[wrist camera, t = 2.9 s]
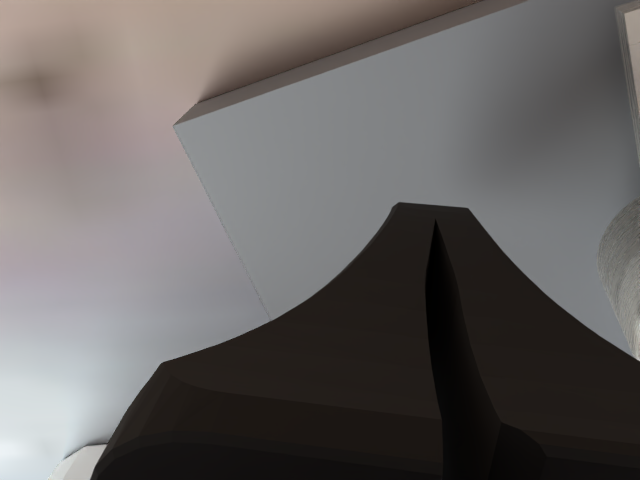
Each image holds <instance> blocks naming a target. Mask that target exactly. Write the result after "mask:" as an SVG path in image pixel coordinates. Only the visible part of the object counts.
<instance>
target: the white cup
mask: <svg viewBox="0 0 640 480" xmlns="http://www.w3.org/2000/svg"><path fill="white" fill-rule="evenodd" d="M106 446H107V444H104V445H93V446H85V447H83V448H82V449H80V450H78V451H77V452H75V453H74V454H72V455H71V456H69V457H67V458H66V459H64V460H63V461H61V462H60V463H59V464H58V465H57V467H56V468H55V469H54V471H53V472H52V474H51V475H50V477H49V478H48V479H47V480H90V478H91V476H92V473H93V470H94V467H95V465H96V464H97V462H98V460H99V458H100V456H101V455H102V453H103V451H104V449H105V448H106Z"/></svg>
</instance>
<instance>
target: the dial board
mask: <svg viewBox="0 0 640 480" xmlns="http://www.w3.org/2000/svg"><path fill="white" fill-rule="evenodd" d="M632 1H635V0H483V1H480V2H478V3H475V4H472V5H469V6H466V7H464V8H461V9H458V10H455V11H453V12H450V13H447V14H444V15H441V16H439V17H436V18H433V19H430V20H428V21H425V22H422V23H419V24H416V25H414V26H411V27H408V28H405V29H403V30H400V31H397V32H394V33H391V34H389V35H386V36H383V37H380V38H378V39H375V40H372V41H369V42H367V43H364V44H361V45H358V46H355V47H353V48H350V49H347V50H344V51H342V52H339V53H336V54H333V55H330V56H328V57H325V58H322V59H319V60H317V61H314V62H311V63H308V64H305V65H303V66H300V67H297V68H294V69H292V70H289V71H286V72H283V73H280V74H278V75H275V76H272V77H269V78H267V79H264V80H261V81H258V82H255V83H253V84H250V85H247V86H244V87H242V88H239V89H236V90H233V91H230V92H228V93H225V94H222V95H219V96H217V97H214V98H211V99H208V100H206V101H203V102H200V103H197V104H195V105H194V106H193V107H192V108H191V109H190V110H189V111H188V112H187V113H185V114H184V115H183V116H182V117H181V118H180V119H179V120H178V121H177V122H176V123H175V124H174V125H173V128H174V130H175V132H176V134H177V136H178V138H179V140H180V142H181V144H182V146H183V148H184V150H185V152H186V154H187V156H188V158H189V160H190V162H191V164H192V166H193V168H194V170H195V172H196V174H197V176H198V178H199V180H200V182H201V183H202V185H203V187H204V189H205V191H206V193H207V195H208V197H209V199H210V201H211V203H212V205H213V207H214V209H215V211H216V213H217V215H218V217H219V219H220V221H221V223H222V225H223V227H224V229H225V231H226V233H227V235H228V237H229V239H230V241H231V243H232V245H233V247H234V249H235V251H236V253H237V255H238V257H239V259H240V260H241V262H242V264H243V266H244V268H245V270H246V272H247V274H248V276H249V278H250V280H251V282H252V284H253V286H254V288H255V290H256V292H257V294H258V296H259V298H260V300H261V302H262V304H263V306H264V308H265V310H266V312H267V314H268V316H269V318H270V320H271V321H272V320H274V319H276V318H278V317H279V316H281V315H283V314H284V313H286V312H288V311H289V310H291V309H293V308H294V307H296V306H298V305H299V304H301V303H302V302H304V301H305V300H307V299H308V298H310V297H311V296H312V295H314V294H315V293H316V292H318V291H319V290H320V289H322V288H323V287H324V286H325V285H327V284H328V283H329V282H330V281H331V280H332V279H334V278H335V277H336V276H337V275H338V274H339V273H340V272H341V271H342V270H343V269H344V268H345V267H346V266H347V265H348V264H349V263H350V262H351V261H352V260H353V259H354V258H355V257H356V256H357V255H358V254H359V253H360V252H361V251H362V250H363V249H364V247H365V246H366V245H367V244H368V243H369V241H370V240H371V239H372V238H373V236H374V235H375V234H376V233H377V231H378V230H379V229H380V227H381V226H382V224H383V223H384V222H385V220H386V218H387V217H388V215H389V213H390V211H391V209H392V207H393V206H394V205H396V204H397V203H398V202H406V203H417V204H429V205H441V206H453V207H465V208H469V210H470V211H471V212H472V213H473V215H474V216H475V217H476V218H477V220H478V221H479V222H480V223H481V225H482V226H483V227H484V228H485V230H486V231H487V232H488V234H489V235H490V236H491V237H492V238H493V240H494V241H495V242H496V243H497V245H498V246H499V247H500V248H501V249H502V250H503V252H504V253H505V254H506V255H507V256H508V257H509V258H510V259H511V260H512V262H513V263H514V264H515V265H516V266H517V267H518V268H519V269H520V270H521V271H522V272H523V273H524V274H525V275H526V276H527V277H528V278H529V279H530V280H531V281H532V282H534V283H535V284H536V285H537V286H538V287H539V288H540V289H541V290H542V291H543V292H544V293H545V294H546V295H547V296H549V297H550V298H551V299H552V300H553V301H554V302H556V303H557V304H558V305H559V306H561V307H562V308H563V309H564V310H566V311H567V312H568V313H570V314H571V315H572V316H573V317H575V318H576V319H577V320H579V321H580V322H581V323H582V324H584V325H585V326H586V327H588V328H589V329H591V330H592V331H594V332H595V333H597V334H598V335H599V336H601V337H602V338H604V339H605V340H607V341H609V342H610V343H612V344H613V345H615V346H616V347H618V348H620V349H621V350H623V351H624V352H626V353H627V354H629V355H631V356H632V357H634V356H633V354H632V352H631V349H630V347H629V345H628V342H627V340H626V338H625V335H624V333H623V331H622V329H621V326H620V324H619V322H618V319H617V317H616V315H615V312H614V310H613V308H612V306H611V303H610V301H609V299H608V296H607V294H606V292H605V289H604V287H603V285H602V282H601V280H600V277H599V274H598V270H597V252H598V247H599V244H600V241H601V238H602V236H603V234H604V232H605V230H606V228H607V227H608V225H609V224H610V223H611V221H612V220H613V219H614V218H615V216H616V215H617V214H618V213H619V212H620V211H621V210H622V209H623V208H625V207H626V206H627V205H628V204H629V203H631V202H632V201H634V200H635V199H636V198H638V197H639V196H640V168H639V161H638V155H637V148H636V142H635V136H634V129H633V123H632V116H631V110H630V103H629V97H628V91H627V84H626V78H625V71H624V65H623V58H622V52H621V46H620V39H619V33H618V26H617V20H616V13H615V7H617V6H620V5H623V4H626V3H629V2H632Z"/></svg>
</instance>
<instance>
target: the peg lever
mask: <svg viewBox="0 0 640 480" xmlns="http://www.w3.org/2000/svg"><path fill="white" fill-rule="evenodd" d="M615 13H616V20H617V26H618V33H619V39H620V46H621V52H622V58H623V65H624V71H625V78H626V84H627V91H628V97H629V103H630V110H631V116H632V123H633V129H634V136H635V142H636V148H637V155H638V161H639V168H640V0H635V1H632V2H629V3H626V4H623V5H620V6H617V7H615ZM597 270H598V274H599V277H600V280H601V282H602V285H603V287H604V289H605V292H606V294H607V296H608V299H609V301H610V303H611V306H612V308H613V310H614V312H615V315H616V317H617V319H618V322H619V324H620V326H621V329H622V331H623V333H624V335H625V338H626V340H627V342H628V345H629V347H630V349H631V352H632V354H633V356H634V358H635V359H637V360H639V361H640V196H639V197H638V198H636V199H635V200H634V201H632V202H631V203H629V204H628V205H627V206H626V207H625V208H623V209H622V210H621V211H620V212H619V213H618V214H617V215H616V216H615V218H614V219H613V220H612V221H611V223H610V224H609V225H608V227H607V228H606V230H605V232H604V234H603V236H602V238H601V241H600V244H599V247H598V252H597Z"/></svg>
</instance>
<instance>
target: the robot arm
mask: <svg viewBox="0 0 640 480" xmlns="http://www.w3.org/2000/svg"><path fill="white" fill-rule="evenodd" d="M90 480H640V361H639V360H637V359H635V358H634V357H632V356H631V355H629V354H627V353H626V352H624V351H623V350H621V349H620V348H618V347H616V346H615V345H613V344H612V343H610V342H609V341H607V340H605V339H604V338H602V337H601V336H599V335H598V334H597V333H595V332H594V331H592V330H591V329H589V328H588V327H586V326H585V325H584V324H582V323H581V322H580V321H579V320H577V319H576V318H575V317H573V316H572V315H571V314H570V313H568V312H567V311H566V310H564V309H563V308H562V307H561V306H559V305H558V304H557V303H556V302H554V301H553V300H552V299H551V298H550V297H549V296H547V295H546V294H545V293H544V292H543V291H542V290H541V289H540V288H539V287H538V286H537V285H536V284H535V283H534V282H532V281H531V280H530V279H529V278H528V277H527V276H526V275H525V274H524V273H523V272H522V271H521V270H520V269H519V268H518V267H517V266H516V265H515V264H514V263H513V262H512V260H511V259H510V258H509V257H508V256H507V255H506V254H505V253H504V252H503V250H502V249H501V248H500V247H499V246H498V245H497V243H496V242H495V241H494V240H493V238H492V237H491V236H490V235H489V234H488V232H487V231H486V230H485V228H484V227H483V226H482V225H481V223H480V222H479V221H478V220H477V218H476V217H475V216H474V215H473V213H472V212H471V211H470V210H469V208H465V207H453V206H441V205H429V204H417V203H406V202H398V203H397V204H396V205H394V206H393V207H392V209H391V211H390V213H389V215H388V217H387V218H386V220H385V222H384V223H383V224H382V226H381V227H380V229H379V230H378V231H377V233H376V234H375V235H374V236H373V238H372V239H371V240H370V241H369V243H368V244H367V245H366V246H365V247H364V249H363V250H362V251H361V252H360V253H359V254H358V255H357V256H356V257H355V258H354V259H353V260H352V261H351V262H350V263H349V264H348V265H347V266H346V267H345V268H344V269H343V270H342V271H341V272H340V273H339V274H338V275H337V276H336V277H335V278H334V279H332V280H331V281H330V282H329V283H328V284H327V285H325V286H324V287H323V288H322V289H320V290H319V291H318V292H316V293H315V294H314V295H312V296H311V297H310V298H308V299H307V300H305V301H304V302H302V303H301V304H299V305H298V306H296V307H294V308H293V309H291V310H289V311H288V312H286V313H284V314H283V315H281V316H279V317H278V318H276V319H274V320H272V321H270V322H268V323H266V324H264V325H262V326H260V327H258V328H256V329H254V330H252V331H249V332H247V333H245V334H242V335H240V336H238V337H236V338H233V339H231V340H228V341H226V342H223V343H221V344H218V345H215V346H212V347H209V348H206V349H203V350H200V351H197V352H194V353H191V354H188V355H185V356H182V357H179V358H176V359H173V360H169V361H166V362H163V363H161V364H160V366H159V367H158V368H157V370H156V371H155V373H154V374H153V375H152V377H151V378H150V380H149V381H148V382H147V383H146V385H145V386H144V387H143V388H142V390H141V391H140V392H139V394H138V395H137V396H136V398H135V399H134V401H133V402H132V404H131V405H130V407H129V408H128V409H127V411H126V413H125V414H124V416H123V418H122V419H121V421H120V423H119V425H118V427H117V428H116V430H115V432H114V434H113V435H112V437H111V439H110V441H109V442H108V444H107V446H106V448H105V449H104V451H103V453H102V455H101V456H100V458H99V460H98V462H97V464H96V465H95V467H94V470H93V473H92V476H91V478H90Z"/></svg>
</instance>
